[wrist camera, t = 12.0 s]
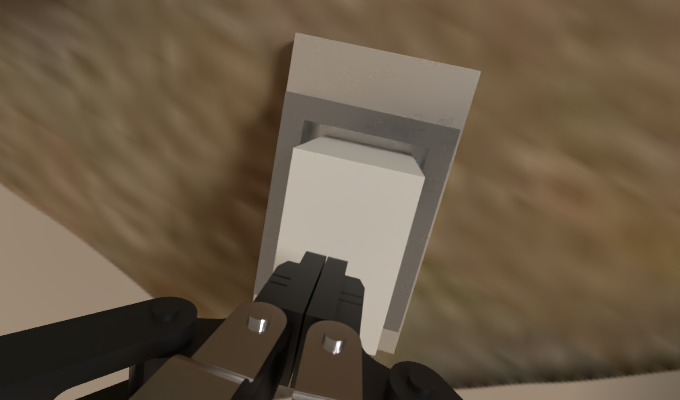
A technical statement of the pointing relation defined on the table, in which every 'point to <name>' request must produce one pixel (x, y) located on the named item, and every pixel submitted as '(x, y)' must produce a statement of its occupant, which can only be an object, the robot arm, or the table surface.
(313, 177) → the block
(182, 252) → the table surface
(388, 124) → the grey flat block
